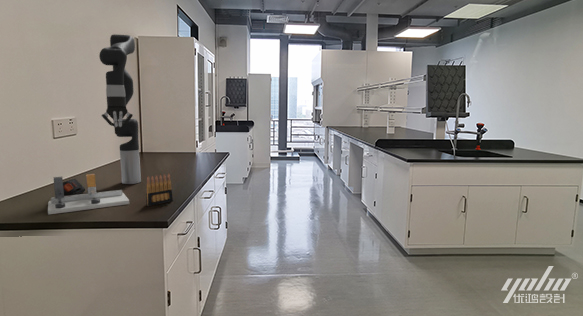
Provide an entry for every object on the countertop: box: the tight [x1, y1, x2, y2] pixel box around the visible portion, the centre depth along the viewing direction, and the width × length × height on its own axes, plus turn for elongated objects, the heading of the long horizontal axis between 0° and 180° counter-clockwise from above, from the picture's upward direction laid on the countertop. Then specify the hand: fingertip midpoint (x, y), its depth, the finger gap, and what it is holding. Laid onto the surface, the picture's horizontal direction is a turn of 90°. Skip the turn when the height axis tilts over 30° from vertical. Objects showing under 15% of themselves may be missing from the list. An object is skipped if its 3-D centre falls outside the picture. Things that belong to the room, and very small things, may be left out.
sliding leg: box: [85, 173, 97, 199], centre depth 151 cm, size 11×3×8 cm, turn 32°
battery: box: [63, 178, 86, 196], centre depth 165 cm, size 12×8×7 cm
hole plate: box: [47, 192, 130, 215], centre depth 151 cm, size 16×28×3 cm, turn 122°
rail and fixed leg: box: [50, 176, 123, 204], centre depth 150 cm, size 11×26×10 cm, turn 122°
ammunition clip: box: [145, 173, 174, 207], centre depth 152 cm, size 11×2×12 cm, turn 135°
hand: (118, 135), depth 163 cm, fingers closed
